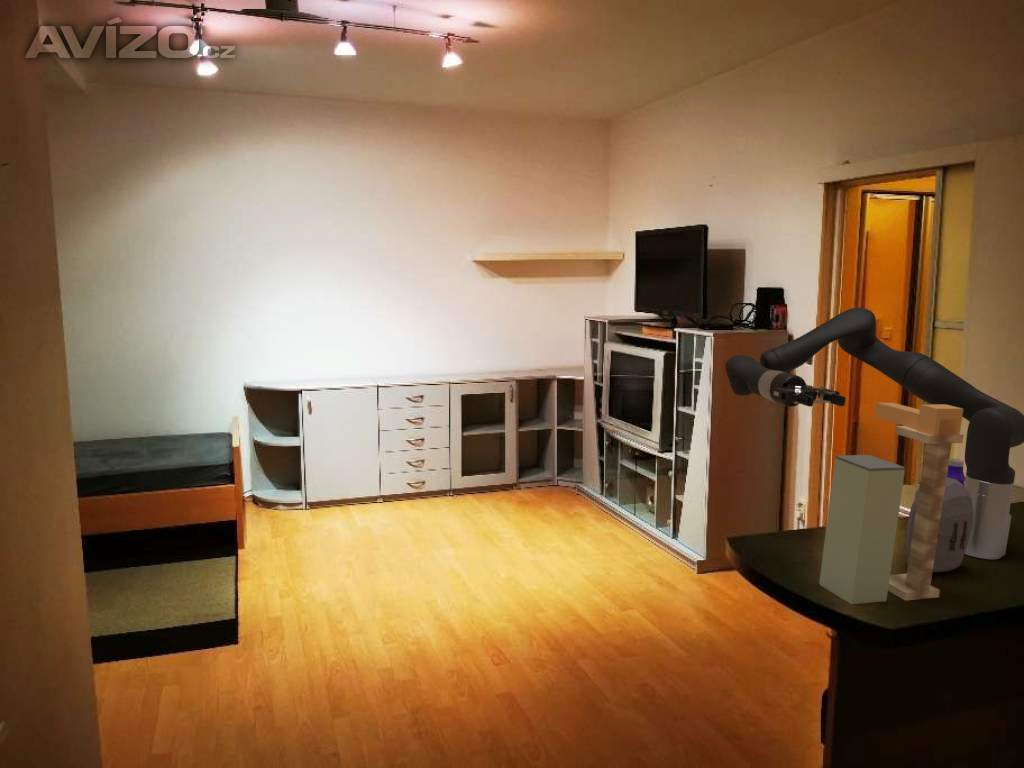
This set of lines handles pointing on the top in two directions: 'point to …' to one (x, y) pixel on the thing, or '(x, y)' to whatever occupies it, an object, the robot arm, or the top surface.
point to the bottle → (956, 470)
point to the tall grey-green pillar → (861, 528)
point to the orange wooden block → (923, 417)
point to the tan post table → (925, 516)
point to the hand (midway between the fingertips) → (828, 401)
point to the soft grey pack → (948, 526)
